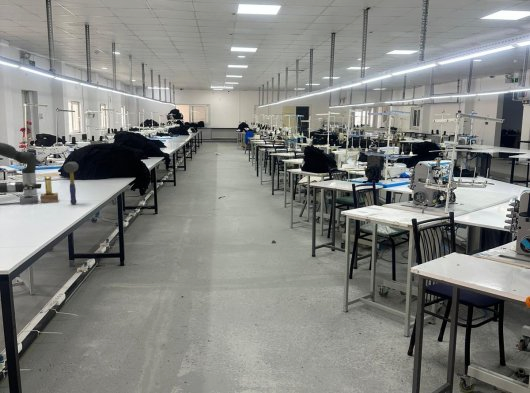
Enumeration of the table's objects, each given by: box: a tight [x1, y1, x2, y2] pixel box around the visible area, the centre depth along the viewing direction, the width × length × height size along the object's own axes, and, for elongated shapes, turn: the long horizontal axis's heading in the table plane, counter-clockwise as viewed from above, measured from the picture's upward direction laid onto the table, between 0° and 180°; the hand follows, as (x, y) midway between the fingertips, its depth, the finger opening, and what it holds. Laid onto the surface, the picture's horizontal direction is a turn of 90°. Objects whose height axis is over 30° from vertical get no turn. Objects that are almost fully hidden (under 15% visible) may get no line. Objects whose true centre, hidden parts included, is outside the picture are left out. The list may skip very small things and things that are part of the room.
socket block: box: [18, 194, 40, 205], centre depth 306 cm, size 12×11×4 cm
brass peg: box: [44, 176, 53, 195], centre depth 310 cm, size 4×4×18 cm
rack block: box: [40, 192, 59, 204], centre depth 311 cm, size 12×11×5 cm
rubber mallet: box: [63, 161, 79, 206], centre depth 300 cm, size 12×8×30 cm, turn 9°
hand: (41, 186), depth 308 cm, fingers open, 8 cm apart
